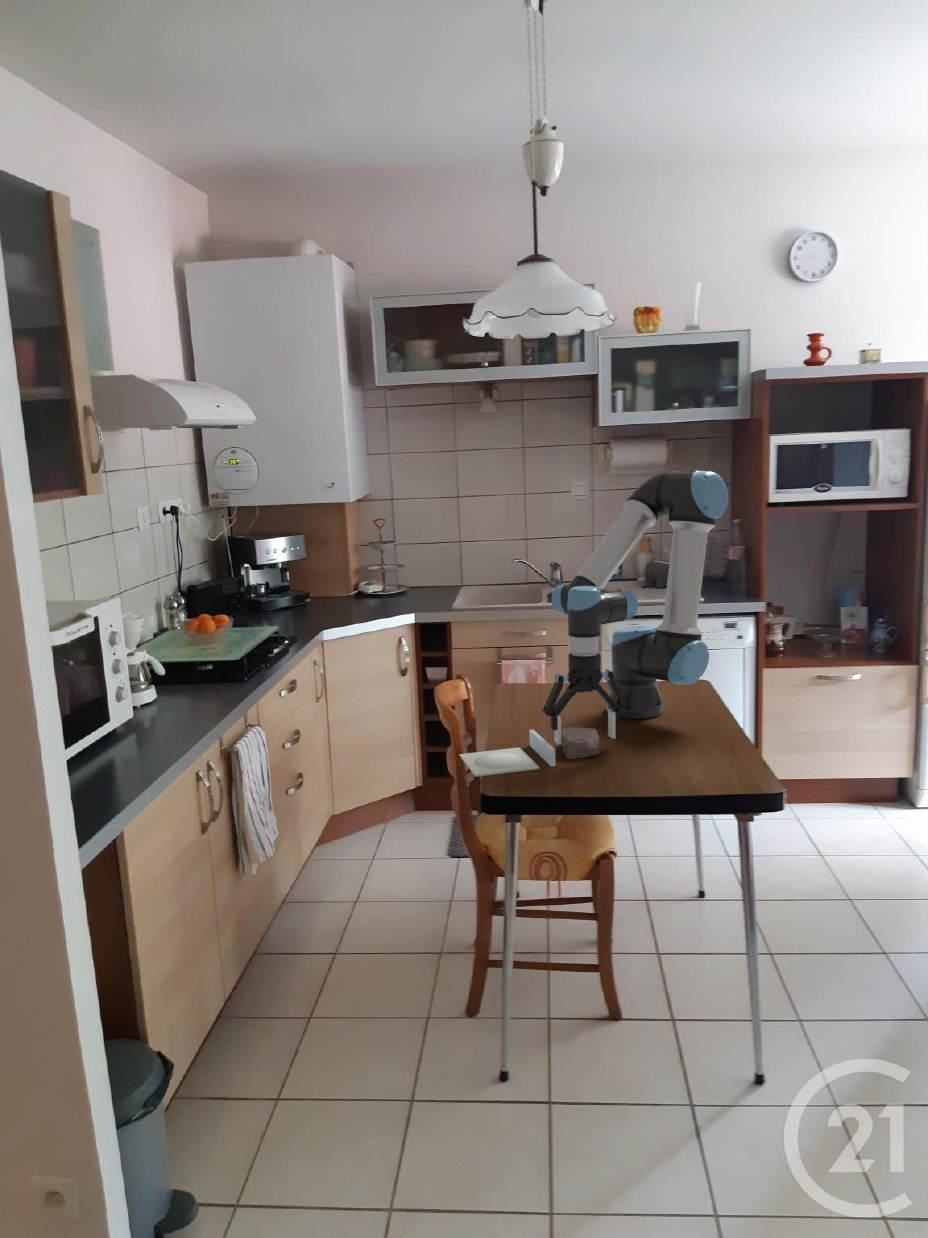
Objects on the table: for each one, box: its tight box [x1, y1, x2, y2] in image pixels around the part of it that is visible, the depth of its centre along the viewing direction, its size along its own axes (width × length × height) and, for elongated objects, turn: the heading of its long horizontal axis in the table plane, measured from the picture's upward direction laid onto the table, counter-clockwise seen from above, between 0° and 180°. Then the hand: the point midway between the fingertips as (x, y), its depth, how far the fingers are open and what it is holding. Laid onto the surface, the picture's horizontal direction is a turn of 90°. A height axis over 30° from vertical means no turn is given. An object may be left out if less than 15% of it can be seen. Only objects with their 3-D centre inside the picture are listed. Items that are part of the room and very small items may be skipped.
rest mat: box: [459, 747, 540, 778], centre depth 214 cm, size 15×15×1 cm
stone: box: [561, 727, 601, 759], centre depth 220 cm, size 12×9×5 cm
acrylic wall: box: [528, 729, 556, 767], centre depth 218 cm, size 1×16×4 cm, turn 13°
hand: (585, 740), depth 220 cm, fingers open, 13 cm apart
